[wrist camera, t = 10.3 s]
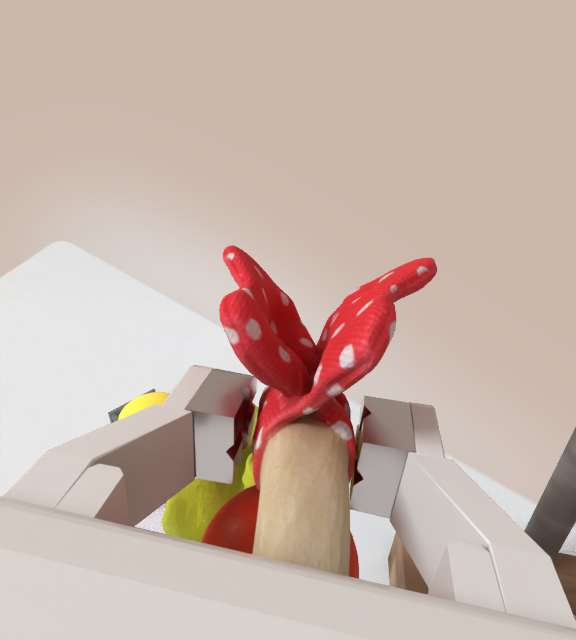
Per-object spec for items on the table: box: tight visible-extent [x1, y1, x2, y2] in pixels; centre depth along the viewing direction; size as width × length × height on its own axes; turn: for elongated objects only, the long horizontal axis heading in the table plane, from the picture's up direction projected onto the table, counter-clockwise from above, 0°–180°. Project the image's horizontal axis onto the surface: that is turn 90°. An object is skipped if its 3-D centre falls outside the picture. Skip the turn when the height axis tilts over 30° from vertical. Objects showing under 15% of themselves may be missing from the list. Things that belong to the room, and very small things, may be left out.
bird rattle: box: [162, 246, 437, 579], centre depth 10 cm, size 6×11×9 cm
